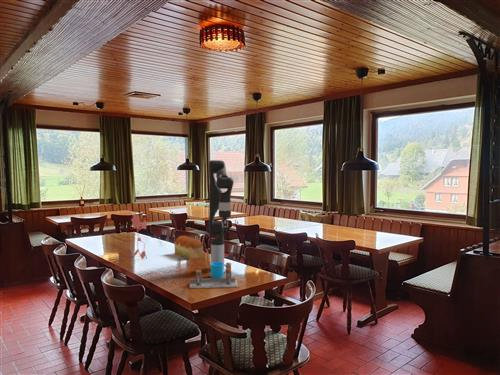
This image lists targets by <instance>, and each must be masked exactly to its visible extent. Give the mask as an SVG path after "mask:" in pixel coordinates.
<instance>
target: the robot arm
mask: <svg viewBox="0 0 500 375" xmlns="http://www.w3.org/2000/svg"><path fill="white" fill-rule="evenodd" d="M225 163H226V162H224V161H223V160H217V159H213V160H212V159H211V160H209V162H208V177H209V180H208V181H209V185H208V186H209V192H208V200H209V201H208V203H209V205H208V206H209V209H208V210H209V213H208V214H209V215H208V216H209V217H208V234H210V235H219V236H217V237H215V238H212V239H211V240H210V264H211V263H214V262H221V263H223V264H225V238H226V237H228V227H229V219H228V218H231V216H232V203H231V196H232V195H231V194H232V190H233V187H234V179H233V178H232V177H230V176H228V174H227V167H226V164H225ZM215 174H216V175H215ZM215 177H216V178H215ZM225 189H226V191H224V192H223V191H222V190H225ZM217 212H218V218H221V220H214V218H215V216H216V214H217ZM224 269H225V266H224V265H223V270H224Z"/></svg>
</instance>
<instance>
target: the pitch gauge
mask: <svg viewBox="0 0 500 375" xmlns="http://www.w3.org/2000/svg"><path fill="white" fill-rule="evenodd" d="M195 275H196V276H195V278H190V279H189V282H190V283H189V289H215V288H216V289H217V288H238V286H239V284H238V279H236V277H231V279H230V282H228V279H226V277H221V278H212V277H210V278H207V277H206V278H202V270H201V269H196V270H195Z"/></svg>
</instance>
